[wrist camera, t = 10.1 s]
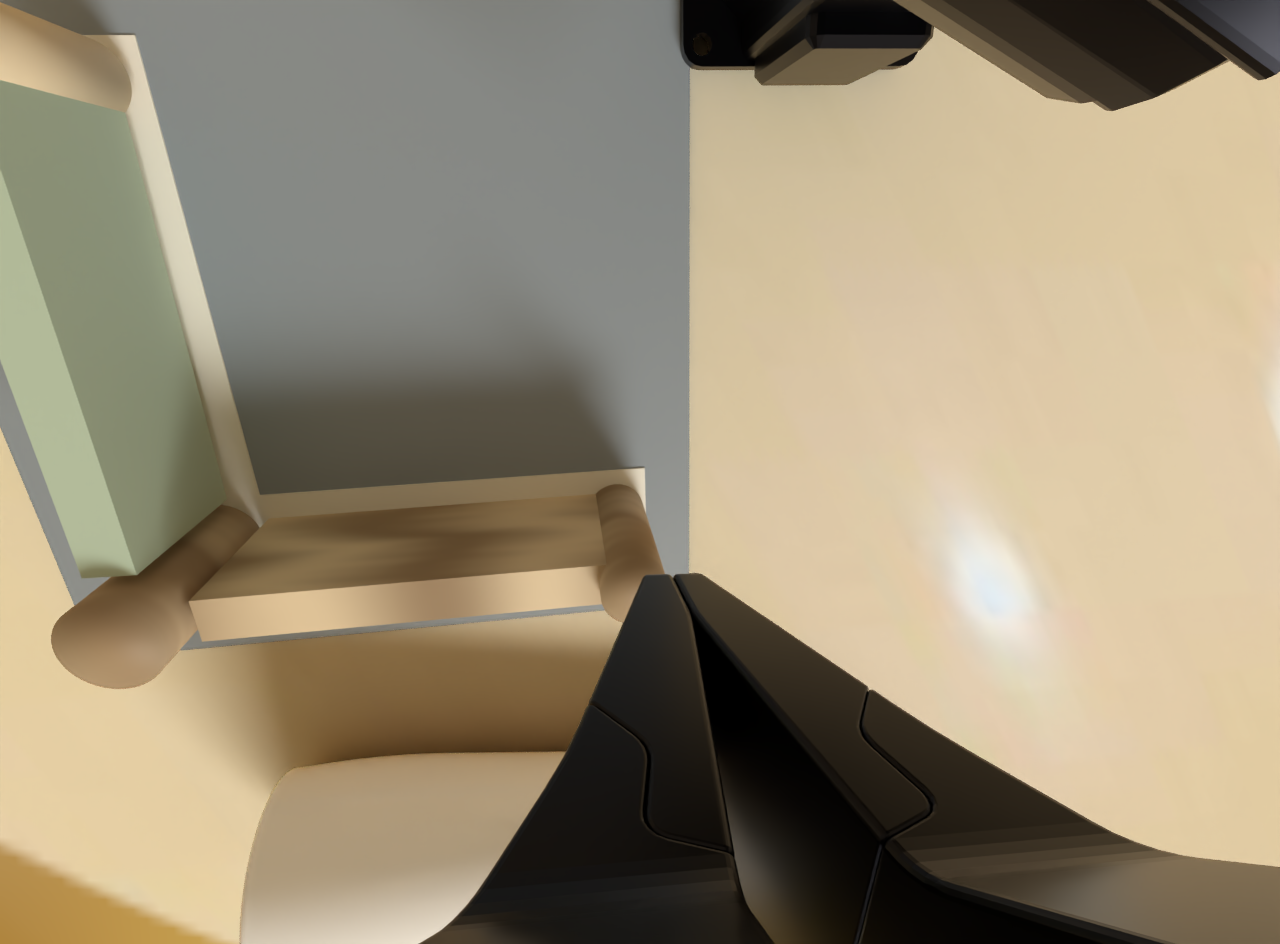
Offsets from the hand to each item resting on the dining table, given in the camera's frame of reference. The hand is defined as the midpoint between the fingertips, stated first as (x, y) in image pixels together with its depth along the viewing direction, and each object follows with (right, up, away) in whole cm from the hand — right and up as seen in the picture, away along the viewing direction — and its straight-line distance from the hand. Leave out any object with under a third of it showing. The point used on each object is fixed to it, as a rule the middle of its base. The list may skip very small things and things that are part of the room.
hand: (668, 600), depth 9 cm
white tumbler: (+3, -11, +15) cm, 19 cm away
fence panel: (-14, +7, +8) cm, 17 cm away
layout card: (-9, +5, +10) cm, 14 cm away
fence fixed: (-8, 0, +12) cm, 14 cm away
